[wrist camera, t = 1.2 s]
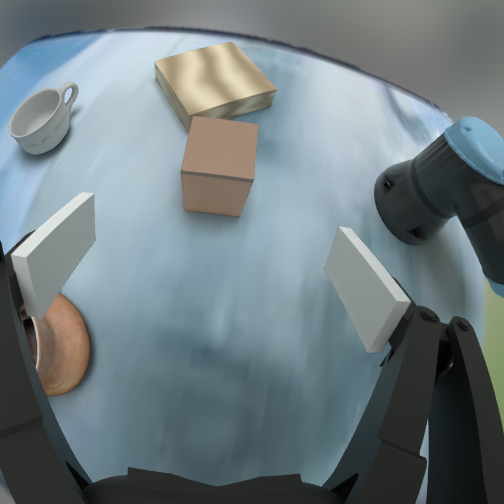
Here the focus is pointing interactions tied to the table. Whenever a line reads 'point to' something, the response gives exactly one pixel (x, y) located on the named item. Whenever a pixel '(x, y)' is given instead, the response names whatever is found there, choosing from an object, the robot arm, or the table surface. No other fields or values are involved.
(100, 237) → the table surface
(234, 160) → the pink square box
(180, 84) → the birch box
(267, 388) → the table surface
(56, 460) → the robot arm
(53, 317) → the ceramic jug
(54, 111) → the teacup
